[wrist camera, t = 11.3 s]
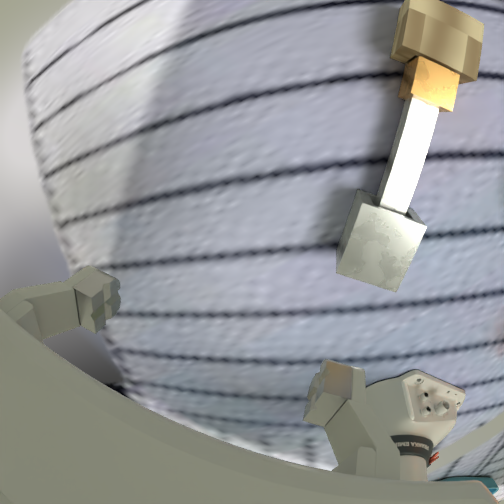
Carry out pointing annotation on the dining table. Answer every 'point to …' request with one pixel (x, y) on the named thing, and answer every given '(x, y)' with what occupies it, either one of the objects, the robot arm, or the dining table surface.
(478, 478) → the casserole dish
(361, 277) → the outer sleeve
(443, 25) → the socket block
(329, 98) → the dining table surface
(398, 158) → the tube
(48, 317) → the robot arm
